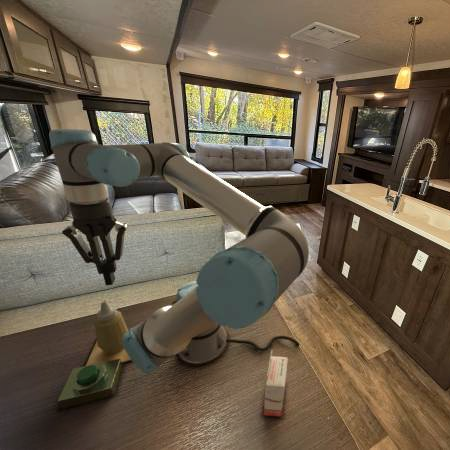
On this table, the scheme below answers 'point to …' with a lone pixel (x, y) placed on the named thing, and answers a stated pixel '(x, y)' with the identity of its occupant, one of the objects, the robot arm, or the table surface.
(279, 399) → the ink cartridge box
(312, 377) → the table surface
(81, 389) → the green buzzer pad
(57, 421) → the table surface
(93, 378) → the button
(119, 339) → the squeeze bottle
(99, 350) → the oak mat
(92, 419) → the table surface
